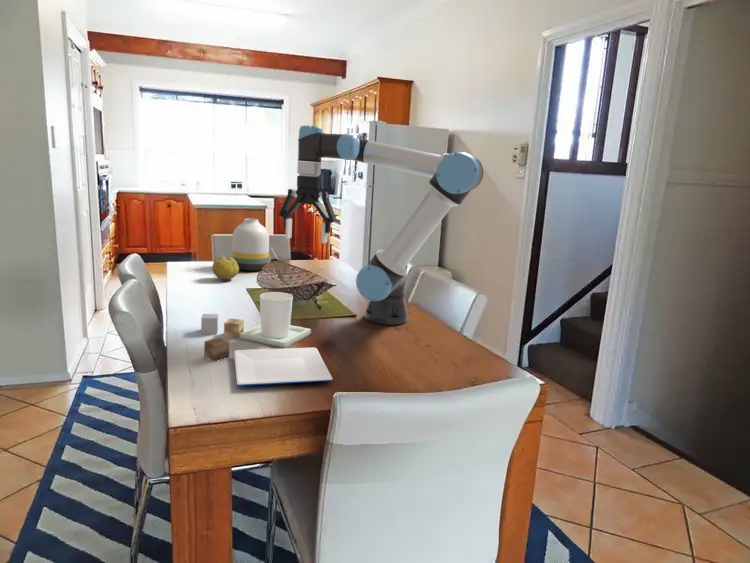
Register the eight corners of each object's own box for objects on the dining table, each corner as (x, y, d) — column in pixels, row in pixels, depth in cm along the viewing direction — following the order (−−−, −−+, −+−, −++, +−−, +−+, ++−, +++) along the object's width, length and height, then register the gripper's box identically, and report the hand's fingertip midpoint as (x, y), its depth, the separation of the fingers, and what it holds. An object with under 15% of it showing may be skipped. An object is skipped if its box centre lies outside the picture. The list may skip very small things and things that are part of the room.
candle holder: (273, 341, 152) (275, 301, 149) (251, 333, 158) (252, 295, 155) (298, 334, 160) (299, 296, 157) (276, 327, 165) (277, 290, 163)
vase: (275, 270, 252) (276, 220, 247) (245, 274, 240) (245, 222, 235) (255, 264, 263) (256, 216, 258) (225, 267, 251) (225, 217, 246)
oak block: (243, 333, 159) (243, 319, 158) (238, 338, 155) (239, 324, 154) (228, 332, 159) (229, 318, 158) (224, 337, 155) (224, 322, 154)
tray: (310, 333, 163) (311, 329, 163) (285, 348, 149) (285, 343, 148) (268, 325, 168) (268, 320, 168) (239, 338, 154) (239, 333, 154)
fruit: (205, 279, 224) (205, 256, 222) (227, 276, 234) (227, 254, 232) (222, 284, 218) (222, 260, 216) (244, 280, 228) (244, 257, 226)
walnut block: (229, 357, 139) (229, 341, 138) (214, 362, 136) (214, 345, 135) (218, 353, 142) (218, 337, 141) (204, 357, 138) (204, 341, 137)
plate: (332, 386, 126) (333, 378, 126) (237, 392, 120) (237, 383, 119) (316, 353, 147) (316, 346, 147) (233, 356, 140) (233, 349, 140)
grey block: (218, 329, 161) (218, 313, 160) (217, 334, 157) (217, 318, 156) (202, 329, 160) (202, 313, 159) (201, 334, 156) (201, 318, 155)
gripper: (348, 178, 169) (345, 243, 173) (281, 172, 177) (279, 235, 182) (338, 178, 162) (335, 246, 166) (269, 172, 170) (267, 237, 175)
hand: (306, 240), depth 174 cm, fingers open, 13 cm apart
